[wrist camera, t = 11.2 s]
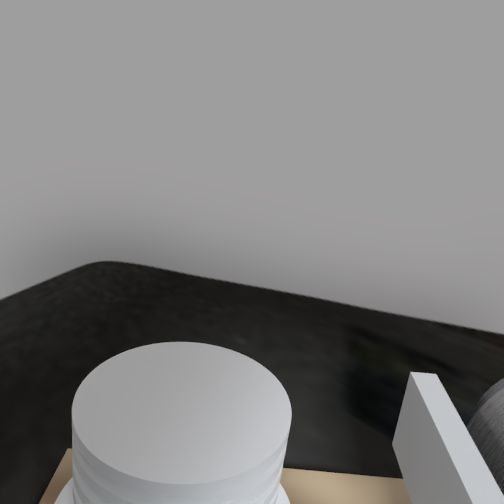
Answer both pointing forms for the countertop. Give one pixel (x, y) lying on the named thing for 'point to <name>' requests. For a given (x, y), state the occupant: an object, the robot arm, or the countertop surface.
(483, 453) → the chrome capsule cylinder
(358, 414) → the countertop surface
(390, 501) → the mounting board
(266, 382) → the downlight
